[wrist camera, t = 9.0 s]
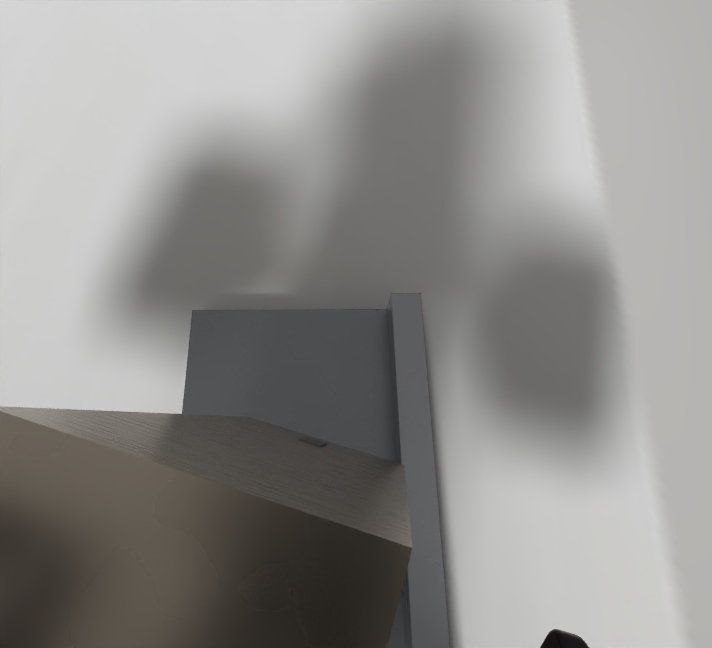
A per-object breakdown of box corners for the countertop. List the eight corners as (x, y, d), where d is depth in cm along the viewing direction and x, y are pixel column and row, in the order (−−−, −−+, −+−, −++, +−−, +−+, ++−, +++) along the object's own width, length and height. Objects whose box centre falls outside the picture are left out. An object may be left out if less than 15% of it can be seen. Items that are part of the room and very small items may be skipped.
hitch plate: (443, 777, 14) (464, 826, 12) (154, 795, 13) (120, 850, 11) (409, 319, 19) (420, 293, 17) (199, 320, 19) (181, 293, 16)
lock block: (356, 643, 14) (252, 1170, 4) (194, 583, 15) (-228, 913, 5) (404, 463, 15) (414, 543, 5) (249, 415, 15) (-14, 401, 6)
